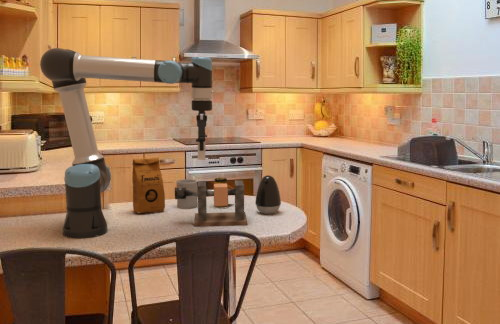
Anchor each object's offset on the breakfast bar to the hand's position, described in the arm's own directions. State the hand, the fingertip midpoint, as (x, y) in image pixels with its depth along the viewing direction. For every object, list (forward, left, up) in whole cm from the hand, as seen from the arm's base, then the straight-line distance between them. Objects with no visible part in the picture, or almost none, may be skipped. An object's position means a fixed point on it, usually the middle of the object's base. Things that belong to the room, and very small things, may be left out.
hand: (201, 157), depth 203 cm
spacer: (+7, -1, -18) cm, 19 cm away
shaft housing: (+7, -1, -24) cm, 25 cm away
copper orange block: (+8, +24, -25) cm, 35 cm away
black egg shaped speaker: (+26, +10, -25) cm, 37 cm away
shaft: (+2, -1, -16) cm, 16 cm away
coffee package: (-22, +17, -25) cm, 37 cm away
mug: (-7, +26, -25) cm, 36 cm away
